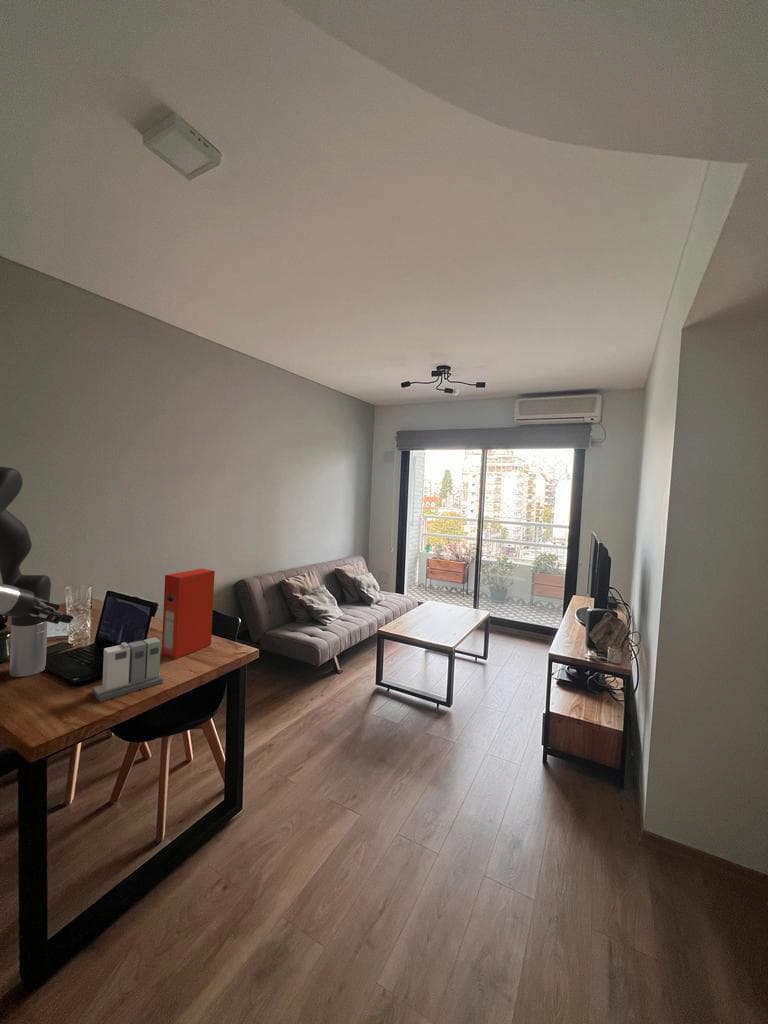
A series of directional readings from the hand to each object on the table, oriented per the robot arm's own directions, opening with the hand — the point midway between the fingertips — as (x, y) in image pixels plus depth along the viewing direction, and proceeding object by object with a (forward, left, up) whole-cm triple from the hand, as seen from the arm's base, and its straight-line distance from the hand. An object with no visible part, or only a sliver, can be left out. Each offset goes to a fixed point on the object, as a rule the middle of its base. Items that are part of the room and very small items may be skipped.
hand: (64, 614), depth 121 cm
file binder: (-11, +43, -26) cm, 52 cm away
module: (+7, +12, -24) cm, 28 cm away
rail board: (+7, +16, -26) cm, 31 cm away
